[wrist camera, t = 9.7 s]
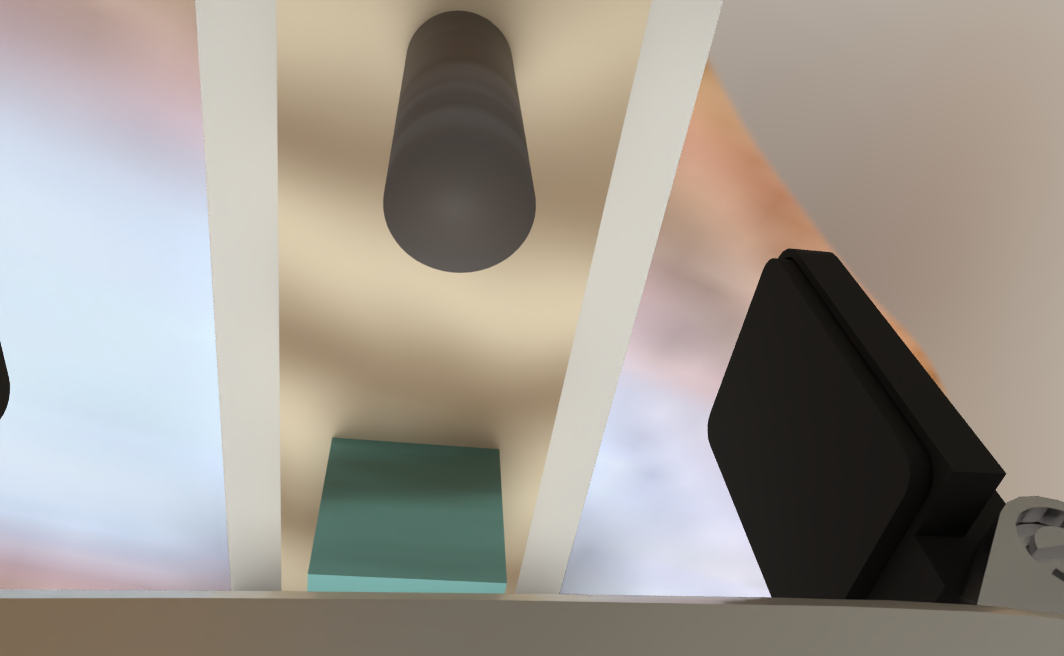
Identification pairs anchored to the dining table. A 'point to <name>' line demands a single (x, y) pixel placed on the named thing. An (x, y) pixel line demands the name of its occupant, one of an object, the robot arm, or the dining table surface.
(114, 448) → the dining table surface
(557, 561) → the tunnel board
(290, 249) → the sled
